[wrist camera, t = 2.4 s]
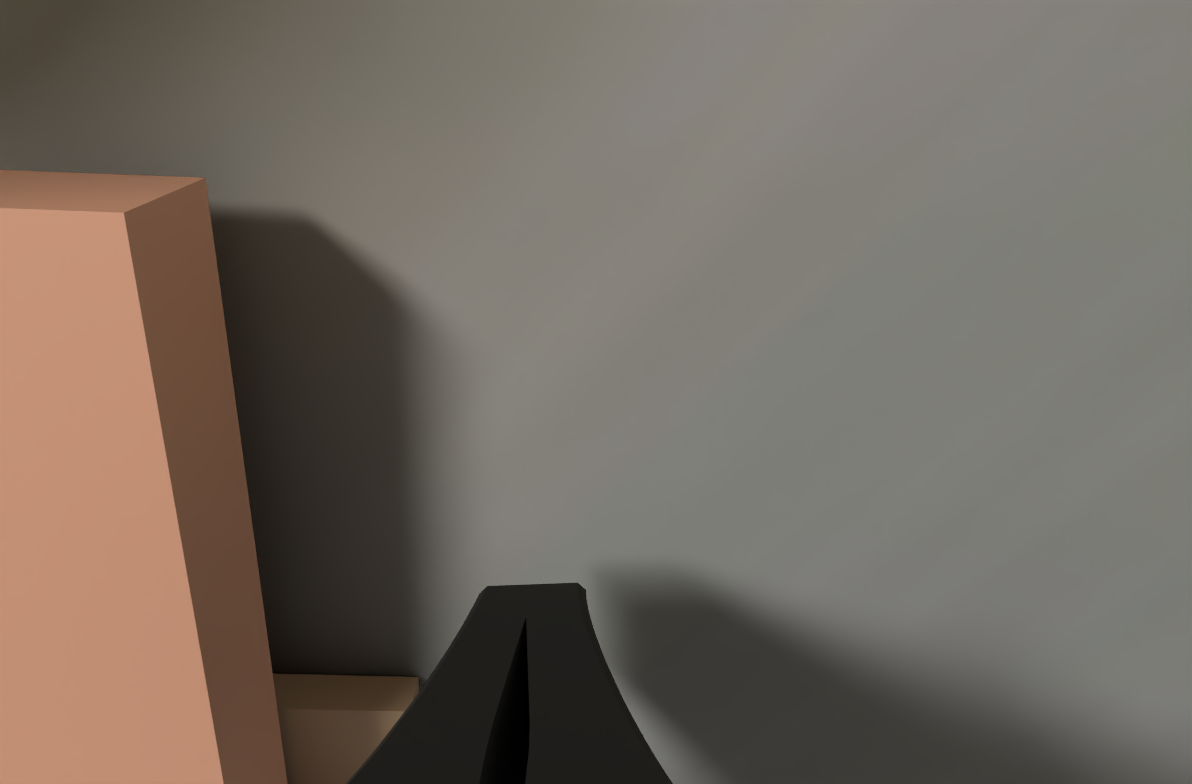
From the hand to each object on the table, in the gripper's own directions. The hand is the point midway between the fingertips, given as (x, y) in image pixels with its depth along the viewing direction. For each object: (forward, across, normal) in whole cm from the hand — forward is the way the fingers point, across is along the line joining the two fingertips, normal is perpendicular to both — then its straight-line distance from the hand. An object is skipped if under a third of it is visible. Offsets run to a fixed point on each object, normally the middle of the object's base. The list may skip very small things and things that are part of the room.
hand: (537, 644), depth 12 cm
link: (+1, +6, +1) cm, 6 cm away
